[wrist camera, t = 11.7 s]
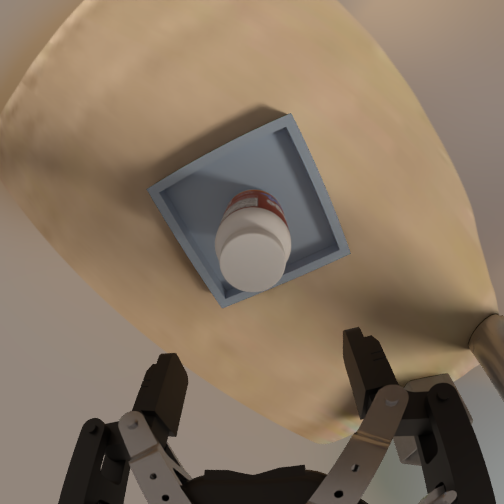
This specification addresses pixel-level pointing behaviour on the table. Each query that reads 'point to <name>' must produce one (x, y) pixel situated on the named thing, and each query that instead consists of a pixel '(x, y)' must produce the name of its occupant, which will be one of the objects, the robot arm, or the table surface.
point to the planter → (407, 443)
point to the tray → (245, 178)
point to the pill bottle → (253, 241)
